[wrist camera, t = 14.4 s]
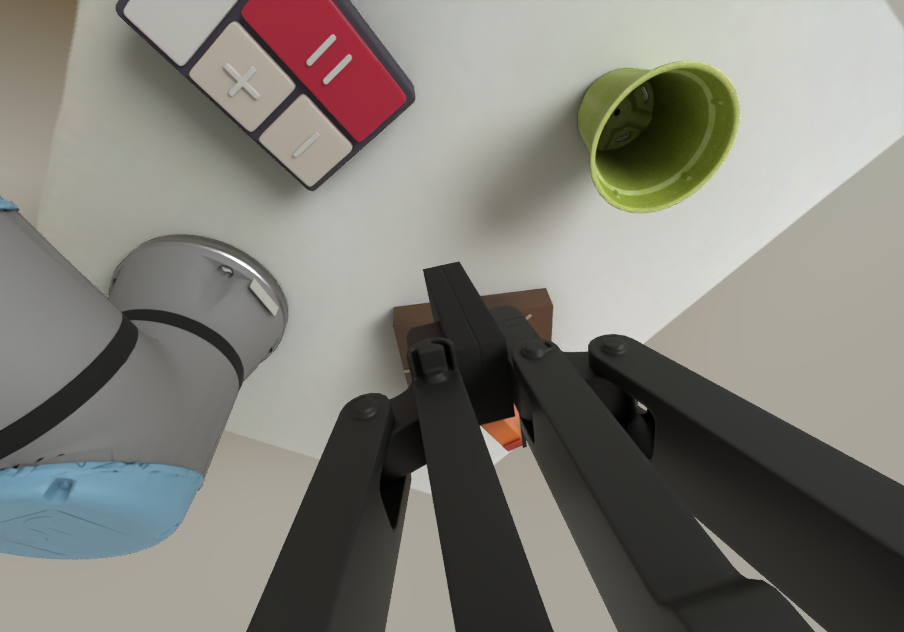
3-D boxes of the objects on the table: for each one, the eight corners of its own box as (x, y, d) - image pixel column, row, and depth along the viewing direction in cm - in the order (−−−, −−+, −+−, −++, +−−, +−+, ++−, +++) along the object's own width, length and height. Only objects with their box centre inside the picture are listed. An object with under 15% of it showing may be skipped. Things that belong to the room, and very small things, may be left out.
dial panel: (415, 398, 54) (415, 418, 52) (390, 294, 44) (388, 313, 41) (543, 382, 54) (549, 402, 51) (547, 274, 44) (555, 292, 41)
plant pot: (687, 128, 36) (751, 165, 29) (581, 190, 38) (617, 236, 32) (656, 12, 30) (725, 24, 24) (536, 93, 33) (568, 124, 26)
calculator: (309, 198, 33) (104, 11, 25) (317, 175, 36) (137, 3, 28) (418, 102, 30) (220, -157, 21) (416, 86, 33) (243, -143, 24)
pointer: (437, 333, 44) (440, 391, 38) (455, 323, 43) (462, 380, 37) (496, 395, 50) (507, 453, 44) (512, 387, 49) (526, 444, 43)
